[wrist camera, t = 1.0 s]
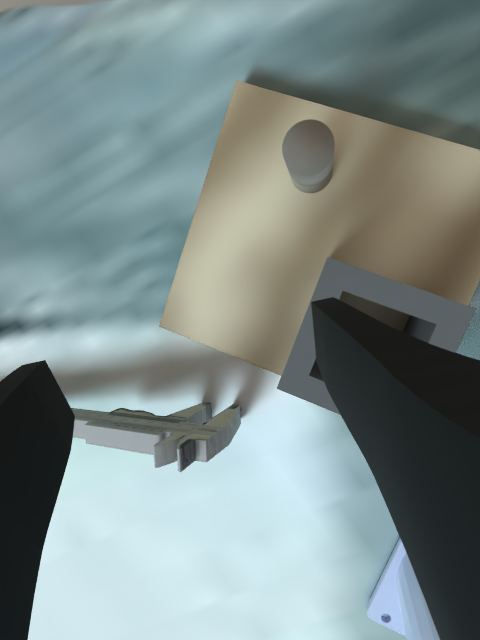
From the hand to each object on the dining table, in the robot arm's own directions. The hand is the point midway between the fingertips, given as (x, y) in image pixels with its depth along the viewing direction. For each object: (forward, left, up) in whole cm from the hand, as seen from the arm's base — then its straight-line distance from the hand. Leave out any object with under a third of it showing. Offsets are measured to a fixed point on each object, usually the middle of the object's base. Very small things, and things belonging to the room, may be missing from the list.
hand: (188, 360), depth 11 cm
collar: (-5, -1, -10) cm, 11 cm away
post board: (-2, -4, -11) cm, 12 cm away
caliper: (+9, +9, -12) cm, 17 cm away
